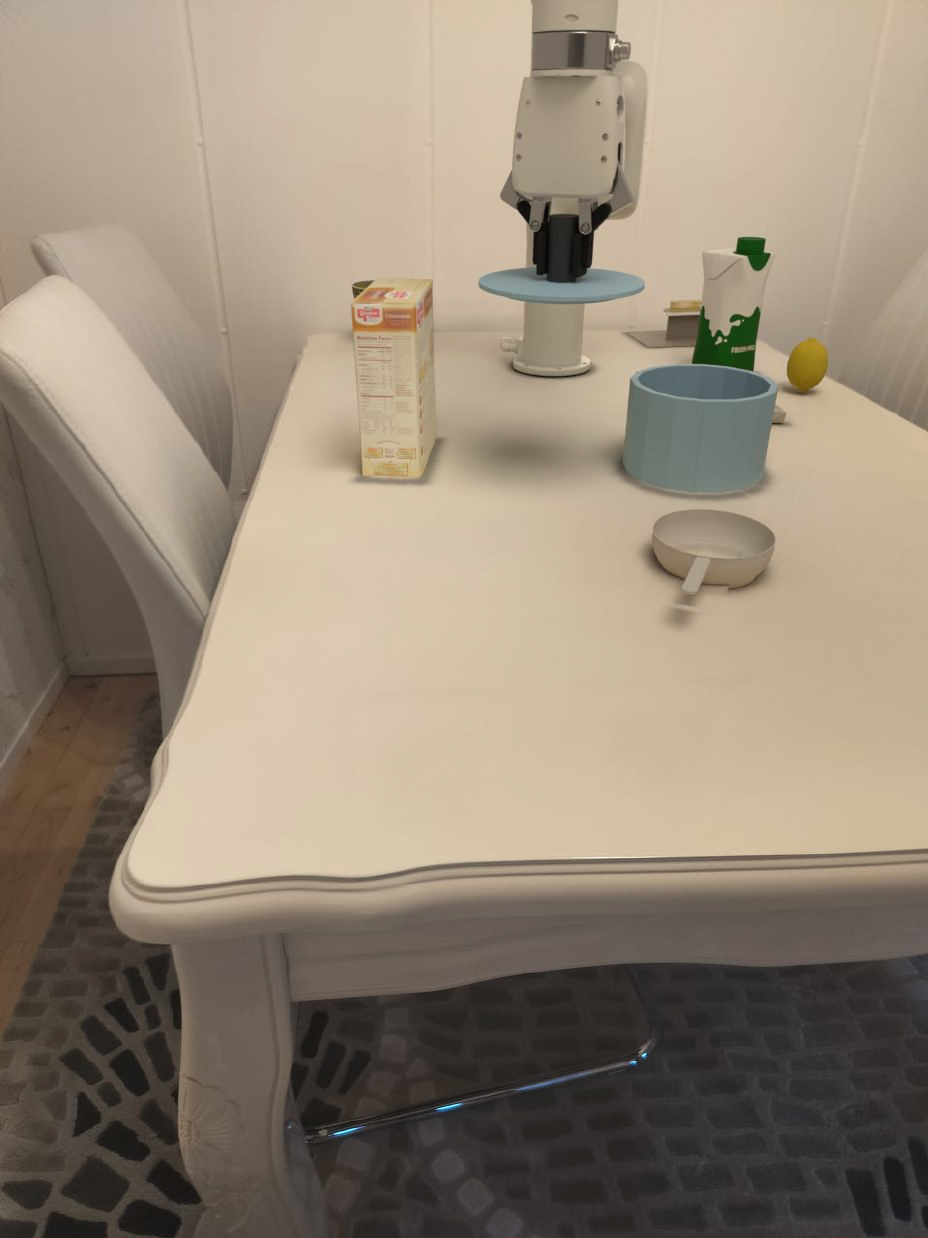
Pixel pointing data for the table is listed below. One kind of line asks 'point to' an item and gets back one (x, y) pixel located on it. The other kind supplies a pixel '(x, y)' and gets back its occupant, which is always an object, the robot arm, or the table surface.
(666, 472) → the bowl
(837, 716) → the table surface
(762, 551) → the saucepan
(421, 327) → the coffeecake box
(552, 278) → the blue pot lid
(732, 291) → the milk carton
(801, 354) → the lemon
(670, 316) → the platform
